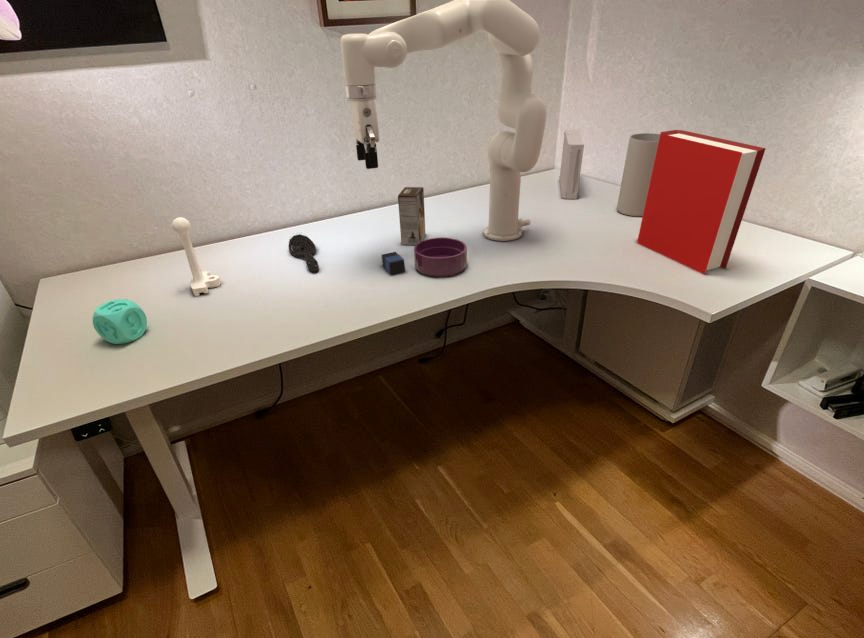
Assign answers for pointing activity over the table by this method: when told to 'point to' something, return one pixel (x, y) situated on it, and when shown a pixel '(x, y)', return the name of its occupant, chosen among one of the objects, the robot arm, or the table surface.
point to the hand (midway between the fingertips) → (367, 163)
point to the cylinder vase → (637, 173)
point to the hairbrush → (304, 251)
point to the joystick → (194, 260)
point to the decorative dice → (119, 321)
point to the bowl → (440, 257)
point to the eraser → (393, 263)
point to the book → (698, 197)
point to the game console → (571, 164)
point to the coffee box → (411, 215)
